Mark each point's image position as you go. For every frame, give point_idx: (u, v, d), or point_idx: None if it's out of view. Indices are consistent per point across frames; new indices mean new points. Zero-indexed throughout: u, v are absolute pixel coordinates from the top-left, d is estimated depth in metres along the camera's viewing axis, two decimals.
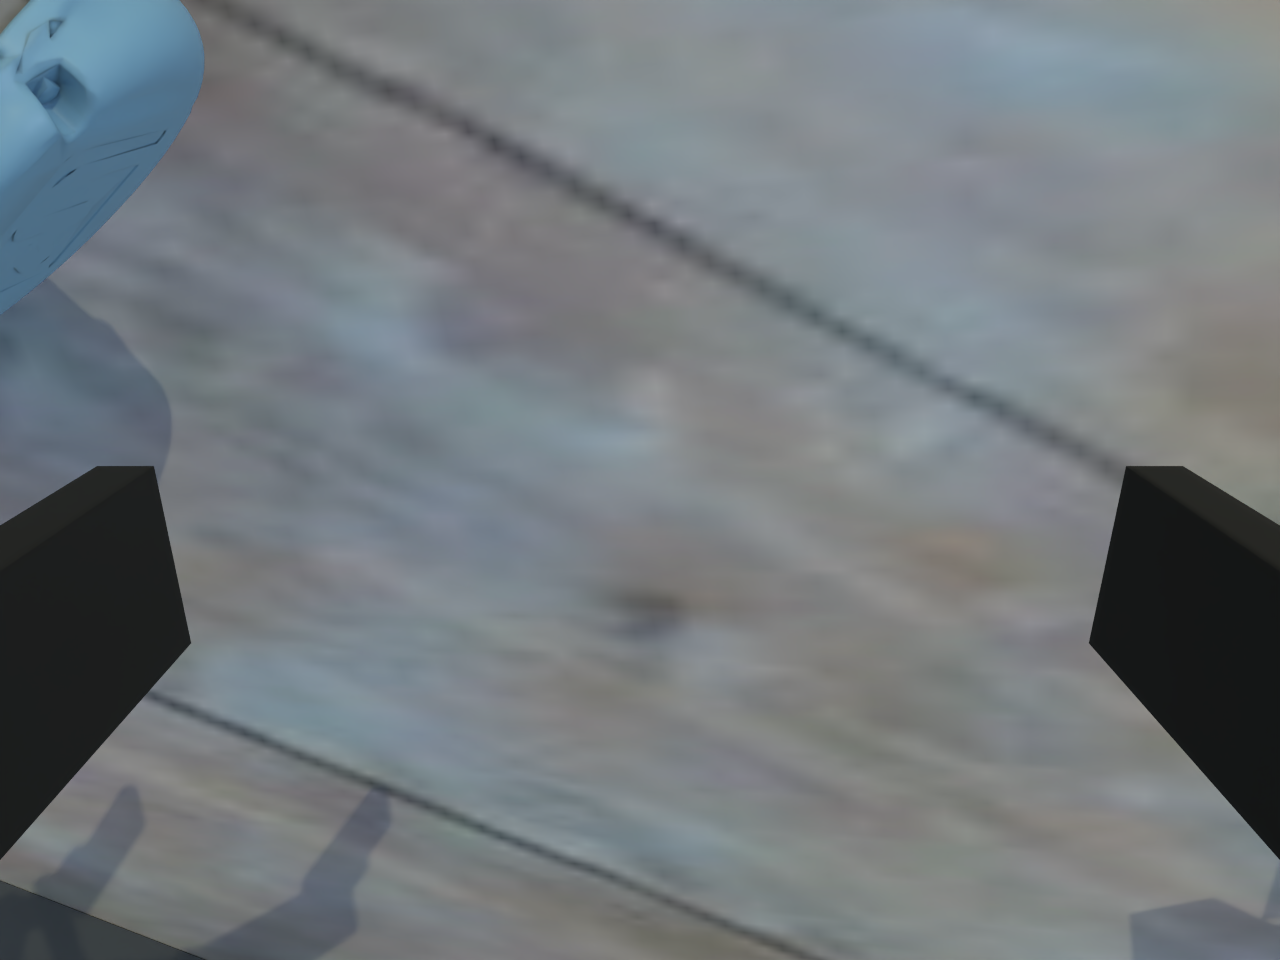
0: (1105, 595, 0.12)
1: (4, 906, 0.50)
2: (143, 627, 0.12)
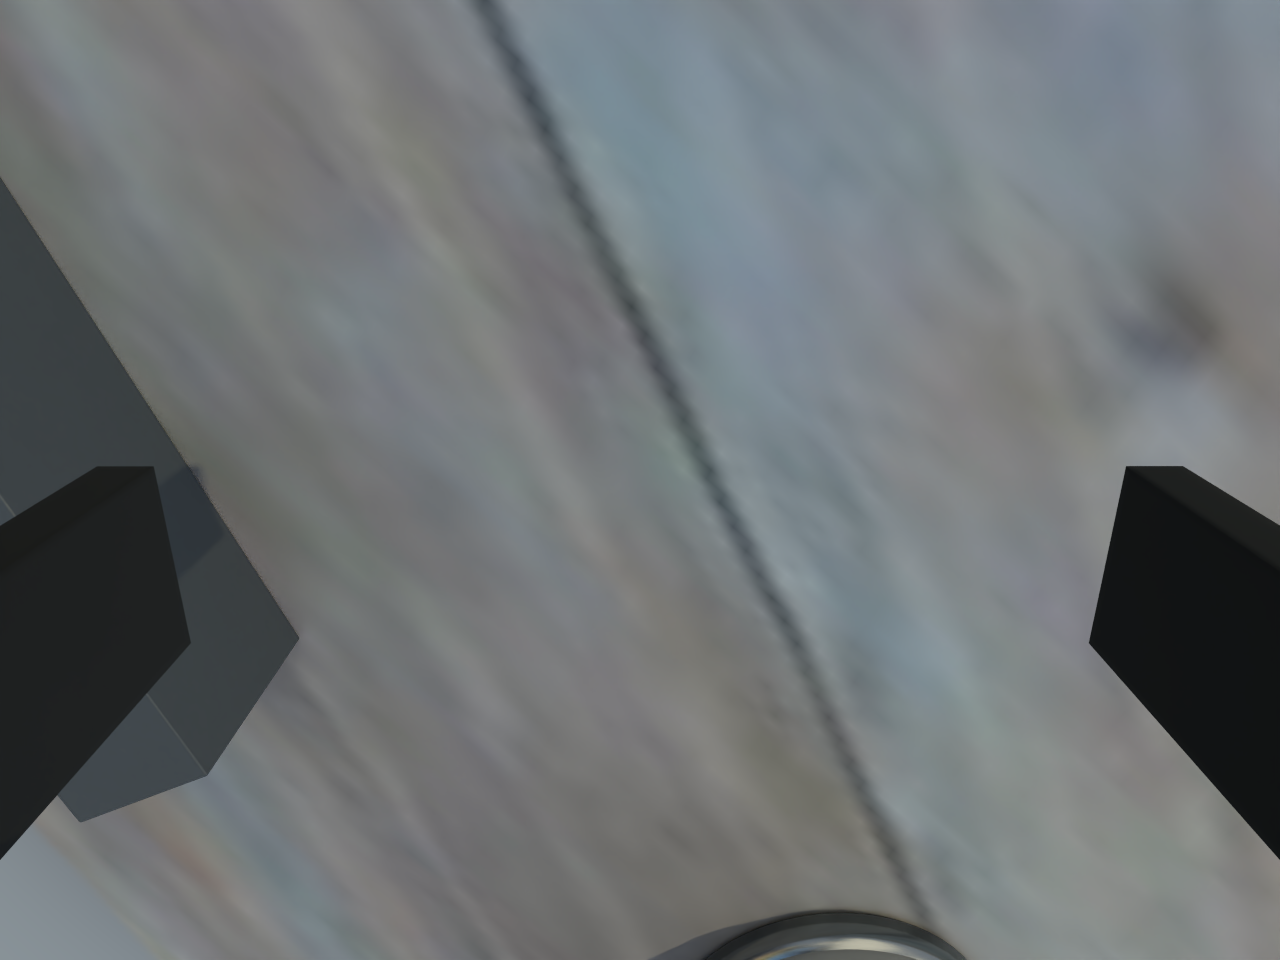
0: (1105, 595, 0.12)
1: None
2: (143, 627, 0.12)
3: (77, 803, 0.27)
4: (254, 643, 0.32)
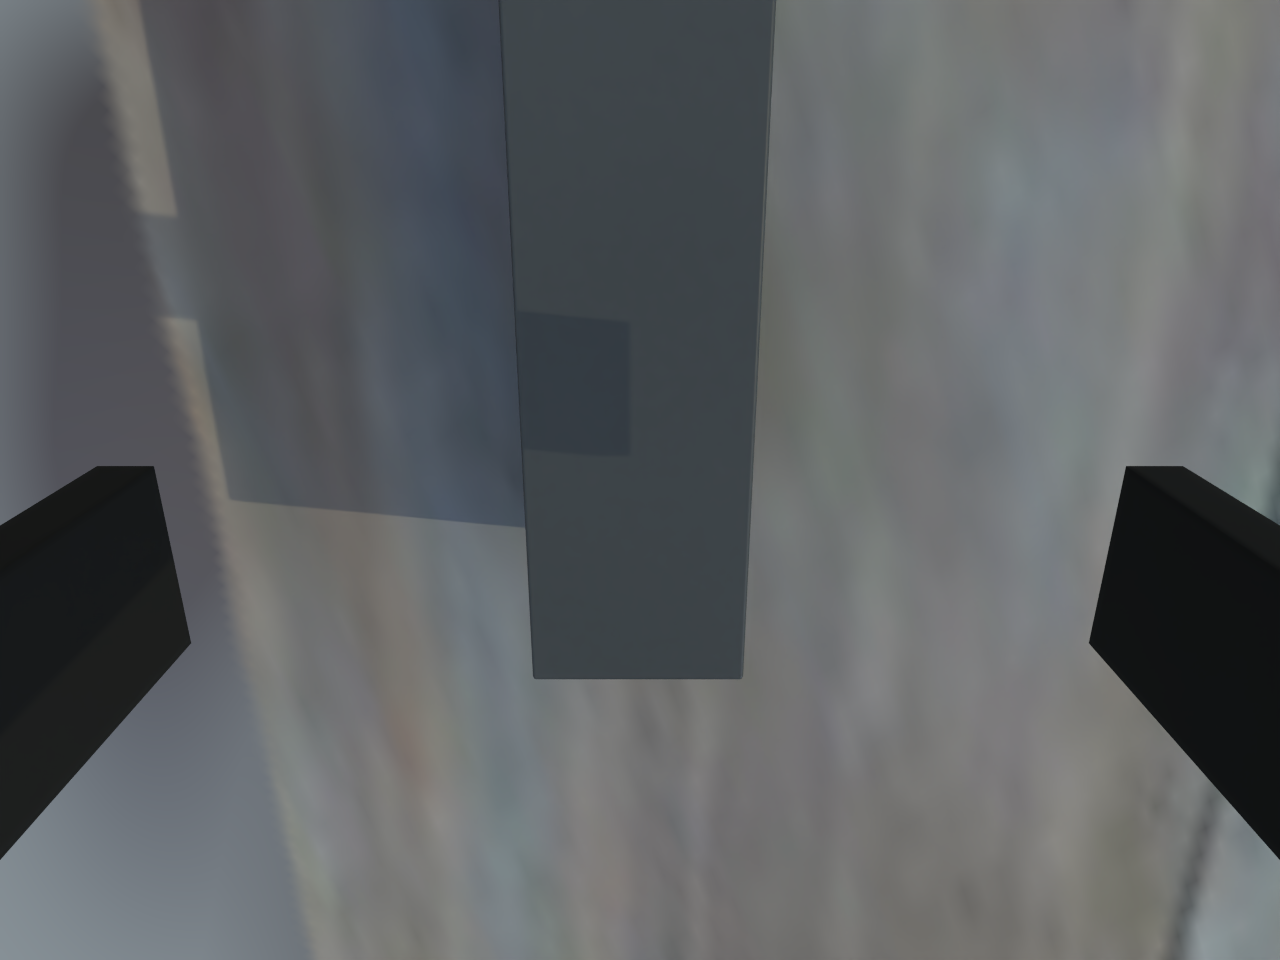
0: (1105, 595, 0.12)
1: None
2: (143, 627, 0.12)
3: (549, 654, 0.20)
4: None
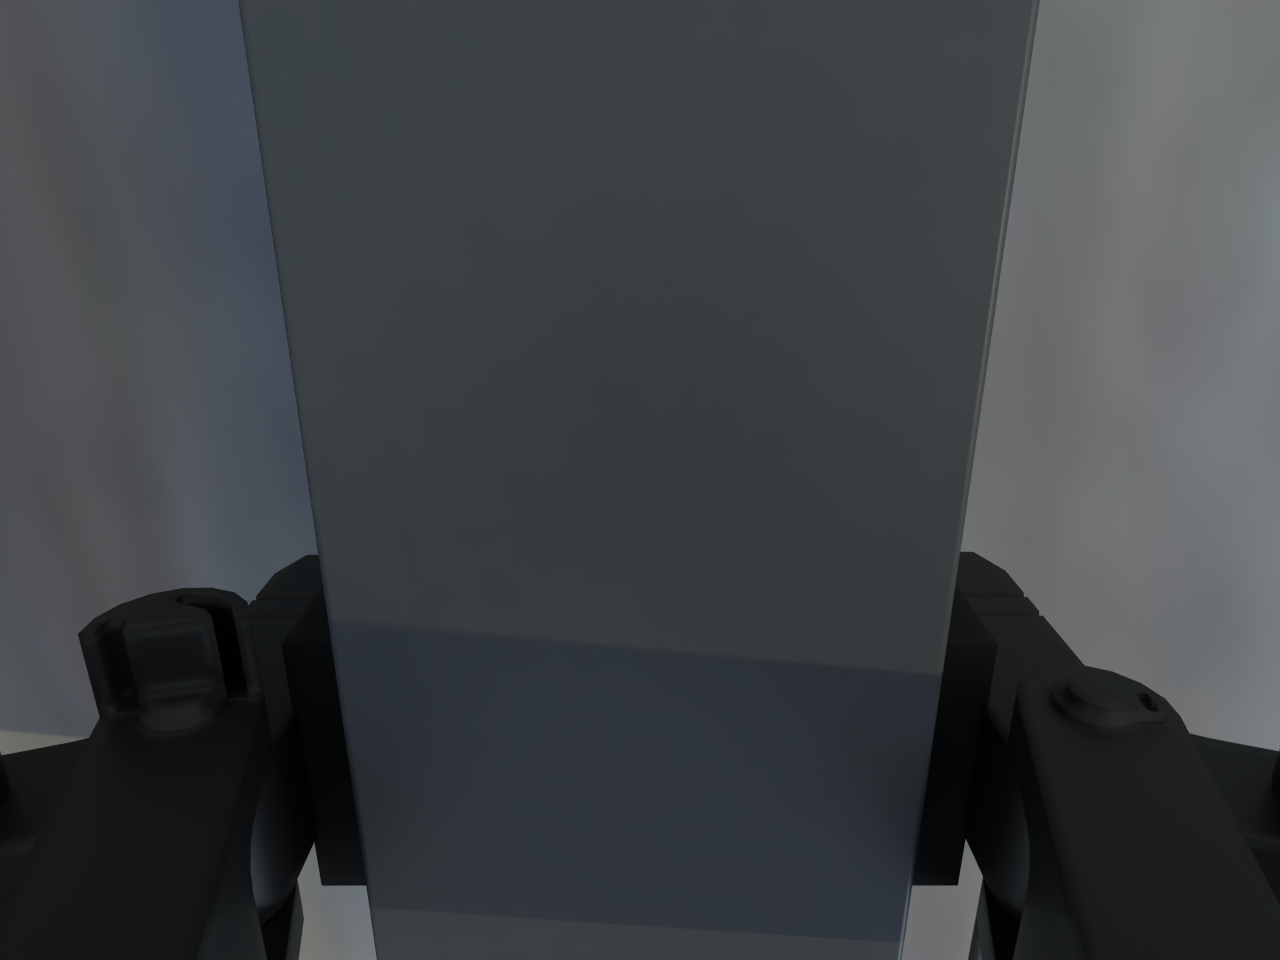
0: None
1: None
2: None
3: None
4: None
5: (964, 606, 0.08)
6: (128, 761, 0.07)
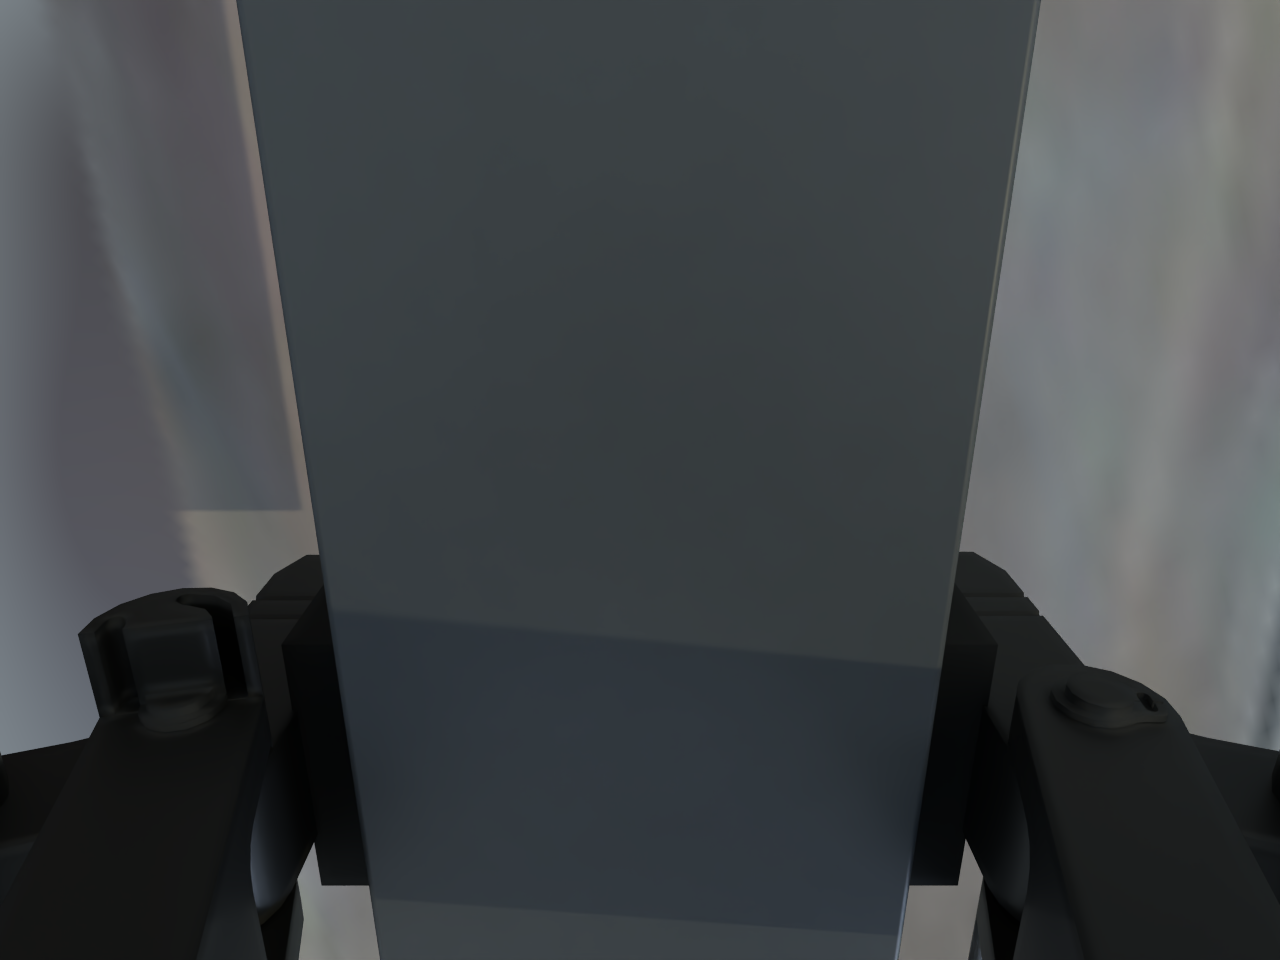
0: None
1: None
2: None
3: None
4: None
5: (964, 606, 0.08)
6: (127, 761, 0.06)
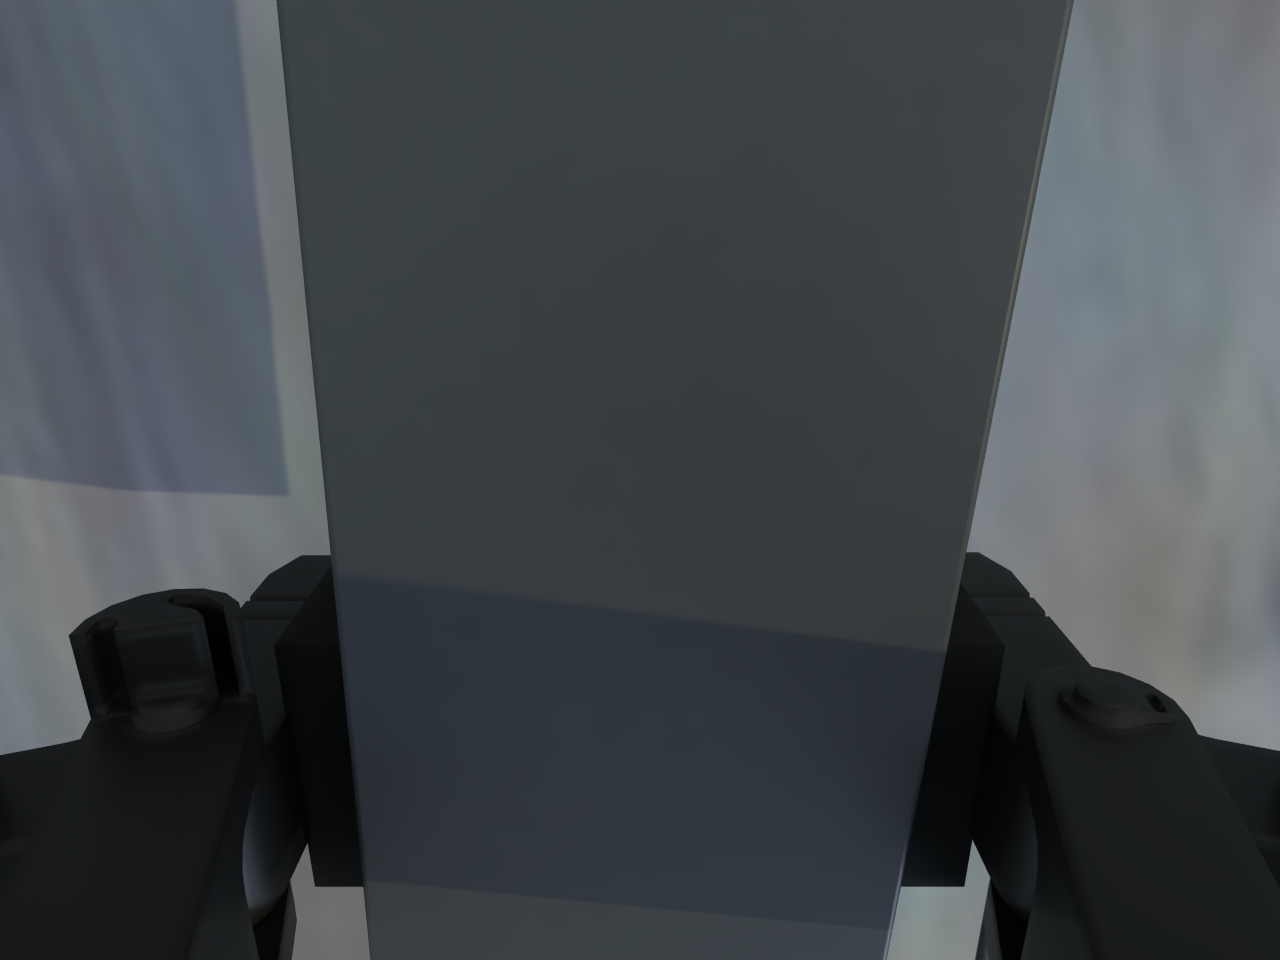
0: None
1: None
2: None
3: None
4: None
5: (971, 608, 0.08)
6: (119, 762, 0.06)
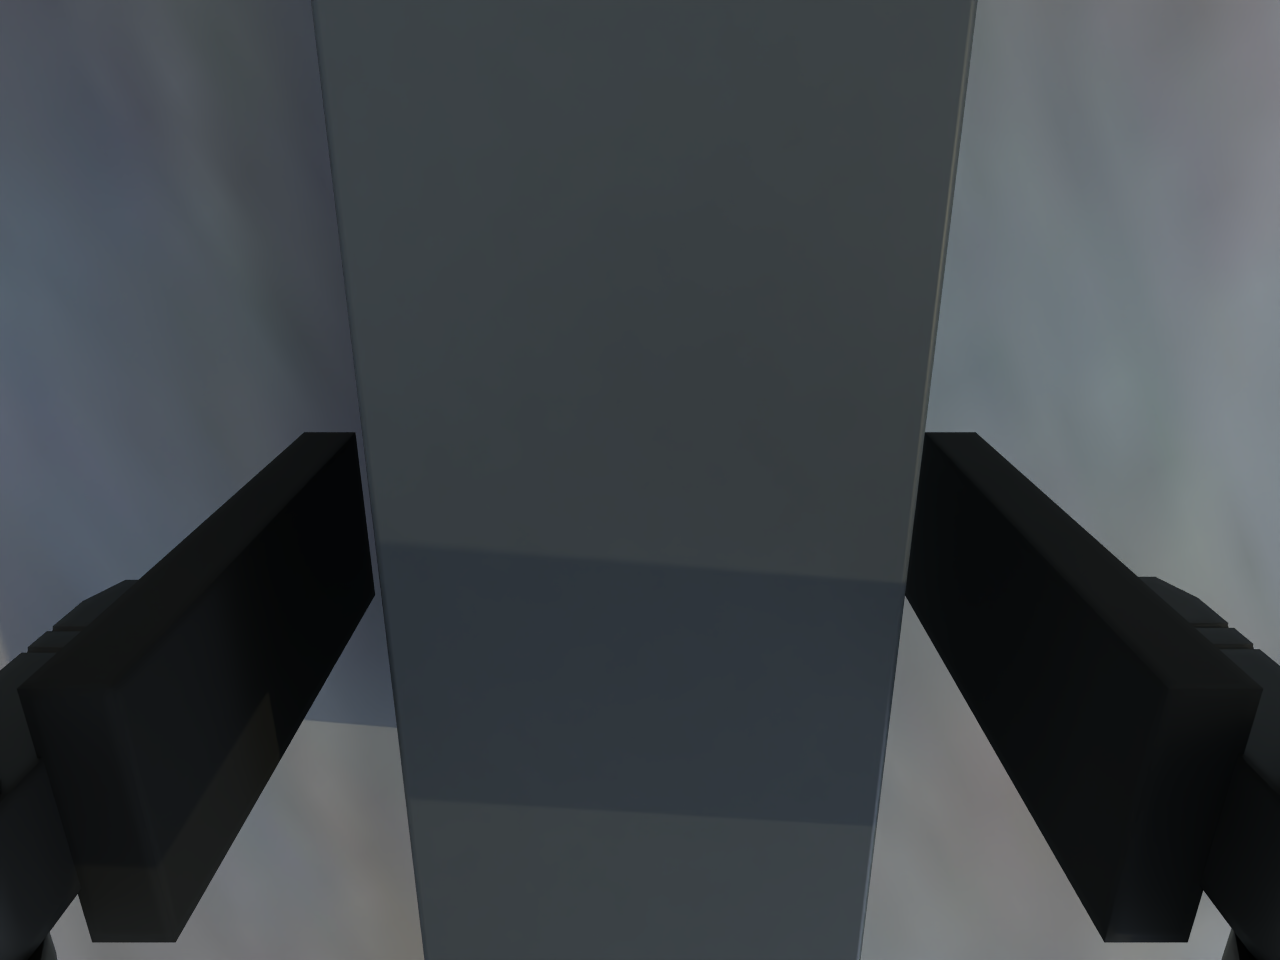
0: (913, 550, 0.14)
1: None
2: (350, 576, 0.13)
3: None
4: None
5: (1205, 643, 0.08)
6: None
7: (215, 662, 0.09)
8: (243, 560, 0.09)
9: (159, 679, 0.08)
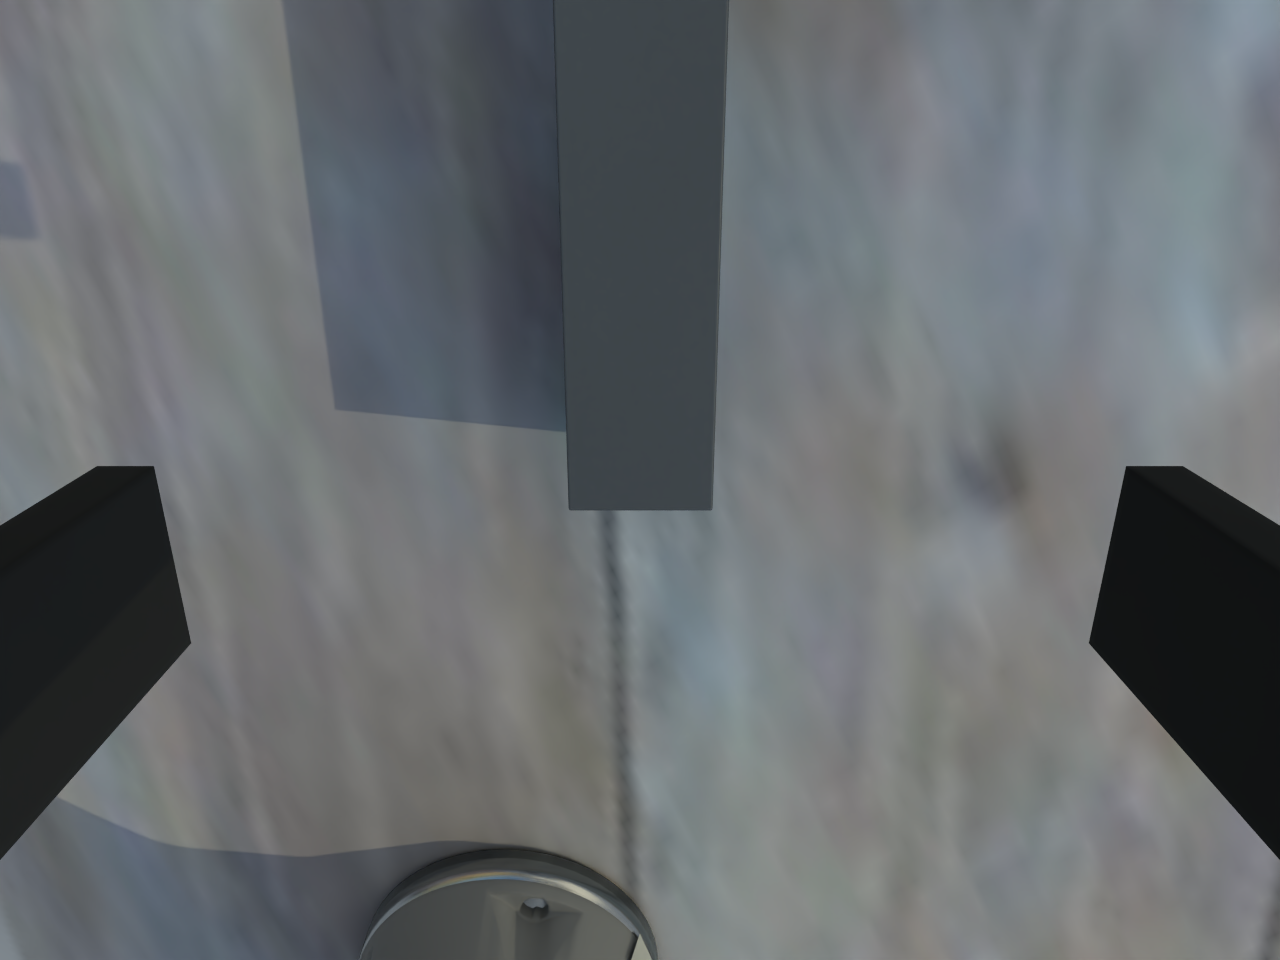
0: (1104, 595, 0.12)
1: None
2: (143, 627, 0.12)
3: (580, 491, 0.29)
4: None
5: None
6: None
7: None
8: None
9: None
